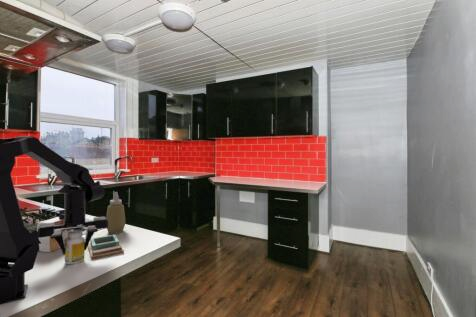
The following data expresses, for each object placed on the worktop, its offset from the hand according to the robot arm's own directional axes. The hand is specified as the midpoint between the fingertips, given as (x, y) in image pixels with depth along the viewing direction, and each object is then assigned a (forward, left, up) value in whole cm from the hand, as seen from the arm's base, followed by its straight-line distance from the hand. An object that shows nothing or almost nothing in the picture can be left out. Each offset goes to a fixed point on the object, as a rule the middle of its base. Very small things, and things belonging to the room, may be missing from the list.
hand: (74, 251), depth 80 cm
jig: (+5, -10, -3) cm, 11 cm away
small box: (+17, +6, -3) cm, 18 cm away
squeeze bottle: (+24, -16, -3) cm, 29 cm away
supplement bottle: (0, 0, -3) cm, 3 cm away
